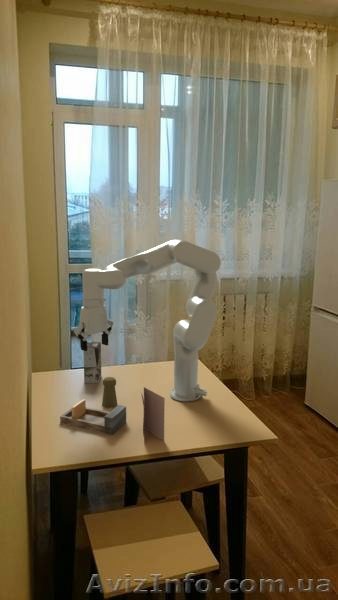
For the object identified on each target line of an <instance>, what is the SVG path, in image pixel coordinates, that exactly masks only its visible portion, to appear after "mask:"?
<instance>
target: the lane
mask: <svg viewBox="0 0 338 600" xmlns="http://www.w3.org/2000/svg"><path fill="white" fill-rule="evenodd" d="M59 422H60V424H63V425H67V426H71V427H72V426H73V427H76V428H80V429H84V430H85V429H86V430H90V431H93V432H98V433H104V434H107V435H111V436H112V435H114V434H115V433H116V432H117V431H119V429H121V427H123V426H124V425H125V424H126V423H127V405H122V404H121V405H120V404H118V405H117V406H116V407H114V408H112V410H111V411H107V410H102V409H96V408H91V407H87V406H86V413H84V414H83V415H82V416H80V417H79V418H78V419H76V418H72V408H70V409H69V410H67V411H66V412H63V414H61V415H60V417H59Z"/></svg>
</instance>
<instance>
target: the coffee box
mask: <svg viewBox="0 0 338 600" xmlns="http://www.w3.org/2000/svg"><path fill="white" fill-rule="evenodd" d="M101 347H102V341H101V342H99V341H98V342H97V341H94V342H93V341H92V342H91V341H90V342H88V341H87V351H83V383H85V384H86V383H87V384H98V383H99V381H100V380H101V377H102V350H101V349H102V348H101Z"/></svg>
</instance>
